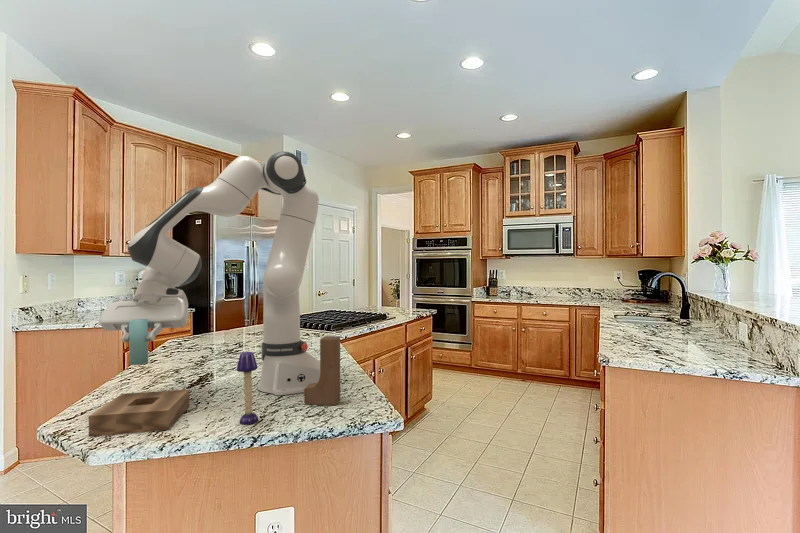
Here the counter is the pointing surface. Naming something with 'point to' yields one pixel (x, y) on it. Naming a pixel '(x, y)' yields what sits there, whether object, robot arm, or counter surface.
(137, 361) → the pin
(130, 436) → the counter surface
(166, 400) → the bore block
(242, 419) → the toy lamp
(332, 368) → the wooden block
